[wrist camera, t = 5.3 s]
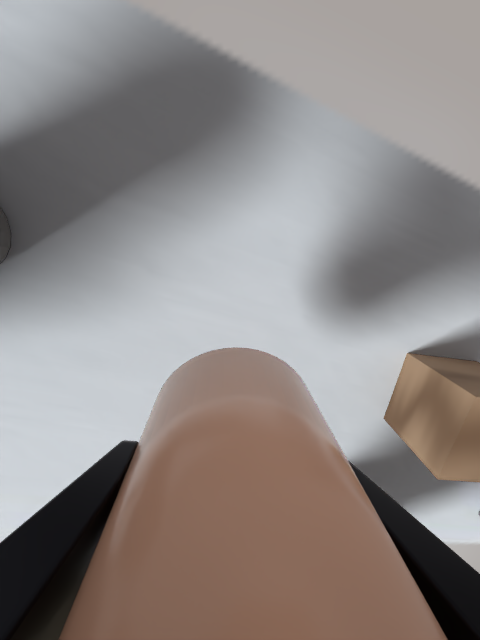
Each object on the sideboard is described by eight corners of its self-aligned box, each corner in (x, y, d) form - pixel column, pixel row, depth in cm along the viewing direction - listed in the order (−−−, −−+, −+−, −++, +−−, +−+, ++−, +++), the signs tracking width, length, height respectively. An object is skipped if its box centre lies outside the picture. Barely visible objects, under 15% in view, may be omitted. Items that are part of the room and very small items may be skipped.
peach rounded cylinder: (295, 486, 10) (448, 1014, 3) (149, 477, 9) (-35, 1089, 3) (329, 357, 8) (751, 836, 2) (158, 338, 8) (-213, 926, 1)
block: (447, 423, 19) (521, 485, 15) (382, 417, 19) (437, 479, 14) (475, 361, 18) (567, 406, 13) (406, 352, 17) (475, 396, 13)
